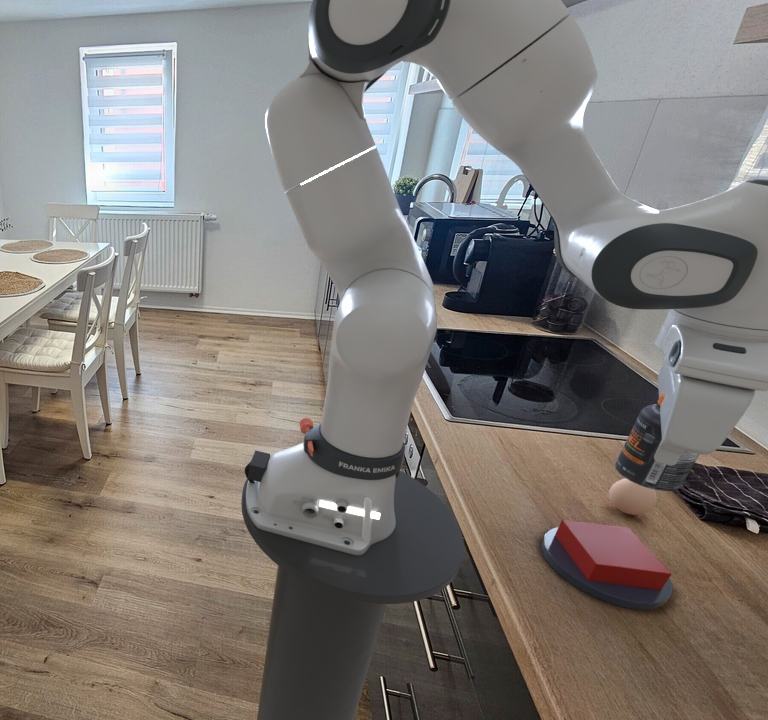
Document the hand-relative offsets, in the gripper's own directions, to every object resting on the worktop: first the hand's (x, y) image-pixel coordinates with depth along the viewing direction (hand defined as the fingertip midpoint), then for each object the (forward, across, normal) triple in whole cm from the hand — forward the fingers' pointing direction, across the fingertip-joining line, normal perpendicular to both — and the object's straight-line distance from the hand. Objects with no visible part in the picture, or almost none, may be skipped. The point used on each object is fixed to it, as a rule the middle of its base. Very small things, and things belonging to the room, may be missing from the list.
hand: (662, 446), depth 59 cm
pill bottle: (+5, 0, 0) cm, 5 cm away
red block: (+19, 0, 0) cm, 19 cm away
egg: (+20, -16, +2) cm, 26 cm away
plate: (+20, 0, 0) cm, 20 cm away
